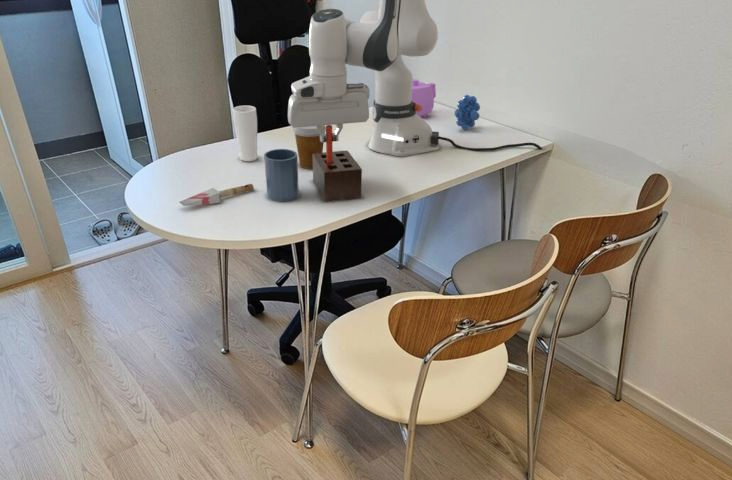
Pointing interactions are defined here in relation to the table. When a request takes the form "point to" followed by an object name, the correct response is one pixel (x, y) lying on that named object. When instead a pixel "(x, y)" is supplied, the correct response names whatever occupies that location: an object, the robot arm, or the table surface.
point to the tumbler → (281, 174)
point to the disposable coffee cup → (308, 144)
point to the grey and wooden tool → (215, 195)
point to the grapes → (467, 112)
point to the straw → (329, 145)
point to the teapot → (423, 96)
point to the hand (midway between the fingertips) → (329, 141)
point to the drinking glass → (246, 131)
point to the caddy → (337, 176)
